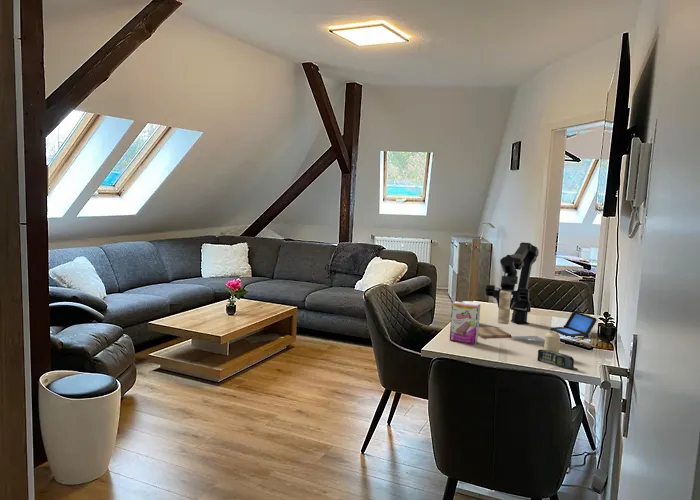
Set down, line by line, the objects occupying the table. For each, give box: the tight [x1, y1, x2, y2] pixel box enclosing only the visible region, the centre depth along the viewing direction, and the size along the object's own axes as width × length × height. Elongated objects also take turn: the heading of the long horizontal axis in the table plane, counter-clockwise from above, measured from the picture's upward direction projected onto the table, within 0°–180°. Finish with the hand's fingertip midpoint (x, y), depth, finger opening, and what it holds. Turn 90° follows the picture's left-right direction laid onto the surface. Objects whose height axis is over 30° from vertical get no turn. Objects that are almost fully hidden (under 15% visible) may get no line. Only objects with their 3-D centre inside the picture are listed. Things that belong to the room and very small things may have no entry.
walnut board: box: [478, 326, 512, 339], centre depth 242 cm, size 14×14×1 cm
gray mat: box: [512, 335, 545, 345], centre depth 235 cm, size 12×12×1 cm
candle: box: [543, 330, 561, 353], centre depth 210 cm, size 6×6×10 cm
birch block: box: [497, 290, 512, 325], centre depth 237 cm, size 4×4×14 cm
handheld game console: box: [550, 311, 598, 338], centre depth 249 cm, size 16×13×9 cm
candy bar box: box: [449, 300, 481, 345], centre depth 226 cm, size 11×5×16 cm, turn 65°
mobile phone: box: [537, 348, 578, 371], centre depth 199 cm, size 5×3×15 cm
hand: (504, 307), depth 236 cm, fingers closed on birch block, 5 cm apart
